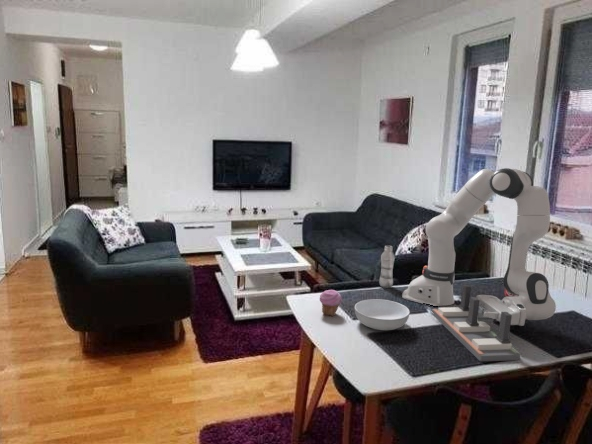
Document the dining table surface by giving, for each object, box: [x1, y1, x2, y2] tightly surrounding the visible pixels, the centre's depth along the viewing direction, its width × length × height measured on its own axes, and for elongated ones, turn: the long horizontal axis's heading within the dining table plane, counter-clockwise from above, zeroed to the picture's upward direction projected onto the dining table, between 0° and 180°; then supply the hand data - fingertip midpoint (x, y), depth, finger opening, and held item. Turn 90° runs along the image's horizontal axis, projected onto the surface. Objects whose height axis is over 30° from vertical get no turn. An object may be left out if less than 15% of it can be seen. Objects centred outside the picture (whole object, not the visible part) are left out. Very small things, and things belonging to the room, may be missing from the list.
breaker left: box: [457, 283, 472, 311], centre depth 187 cm, size 3×4×10 cm
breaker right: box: [495, 312, 512, 344], centre depth 159 cm, size 3×4×10 cm
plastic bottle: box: [378, 244, 396, 288], centre depth 221 cm, size 6×7×20 cm
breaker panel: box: [431, 306, 521, 362], centre depth 174 cm, size 14×40×4 cm, turn 7°
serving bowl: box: [354, 298, 411, 331], centre depth 179 cm, size 21×21×7 cm
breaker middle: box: [465, 296, 480, 326], centre depth 172 cm, size 3×4×10 cm
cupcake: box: [319, 289, 343, 317], centre depth 188 cm, size 9×9×10 cm
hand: (476, 309), depth 172 cm, fingers open, 8 cm apart
